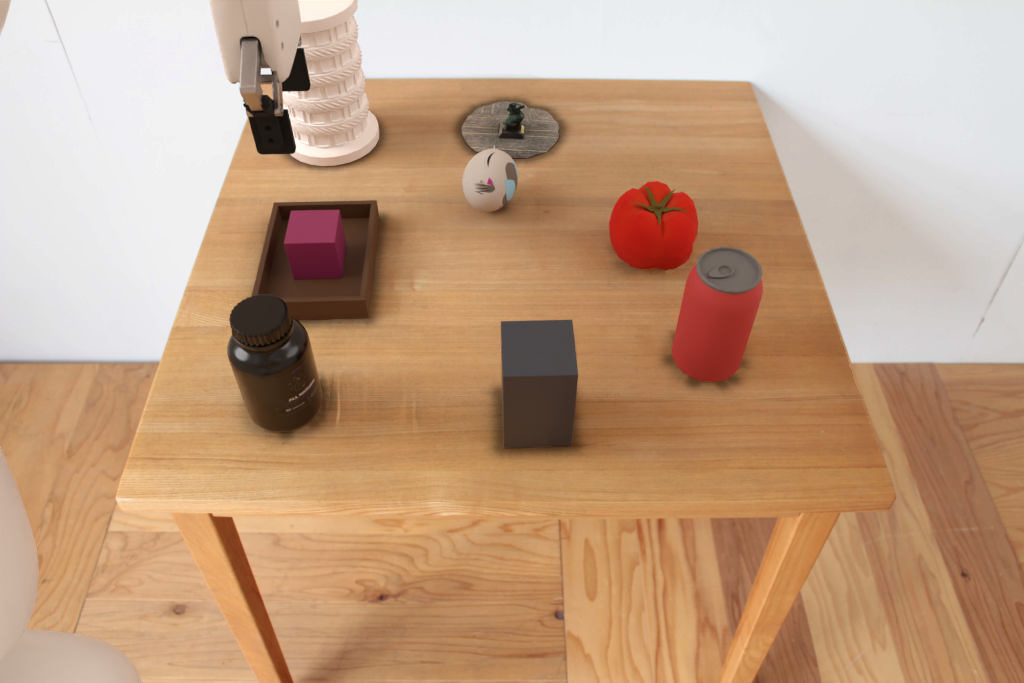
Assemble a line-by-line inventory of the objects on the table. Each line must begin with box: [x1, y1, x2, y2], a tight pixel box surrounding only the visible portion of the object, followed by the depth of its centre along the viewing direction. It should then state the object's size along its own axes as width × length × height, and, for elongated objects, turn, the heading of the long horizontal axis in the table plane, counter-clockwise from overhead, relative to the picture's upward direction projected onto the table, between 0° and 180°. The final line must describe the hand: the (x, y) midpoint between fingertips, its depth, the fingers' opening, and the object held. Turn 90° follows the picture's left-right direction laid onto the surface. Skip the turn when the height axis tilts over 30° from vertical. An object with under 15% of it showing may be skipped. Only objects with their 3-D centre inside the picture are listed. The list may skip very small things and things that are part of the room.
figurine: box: [461, 145, 519, 213], centre depth 94 cm, size 8×6×7 cm
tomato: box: [608, 180, 699, 271], centre depth 88 cm, size 9×9×8 cm
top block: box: [284, 210, 347, 279], centre depth 87 cm, size 5×5×5 cm
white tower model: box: [282, 0, 380, 167], centre depth 98 cm, size 12×12×18 cm
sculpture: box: [461, 100, 560, 159], centre depth 106 cm, size 12×9×8 cm
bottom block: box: [500, 319, 579, 449], centre depth 73 cm, size 6×6×10 cm
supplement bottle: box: [226, 294, 324, 433], centre depth 73 cm, size 7×7×12 cm
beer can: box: [671, 246, 764, 383], centre depth 77 cm, size 7×7×12 cm
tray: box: [251, 199, 380, 321], centre depth 89 cm, size 15×11×3 cm
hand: (285, 119), depth 75 cm, fingers open, 9 cm apart
